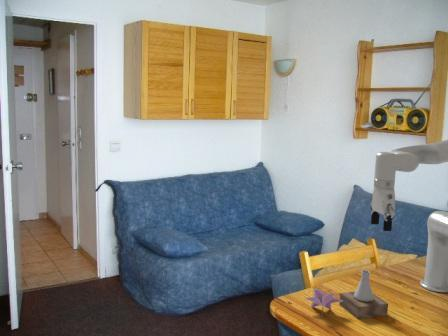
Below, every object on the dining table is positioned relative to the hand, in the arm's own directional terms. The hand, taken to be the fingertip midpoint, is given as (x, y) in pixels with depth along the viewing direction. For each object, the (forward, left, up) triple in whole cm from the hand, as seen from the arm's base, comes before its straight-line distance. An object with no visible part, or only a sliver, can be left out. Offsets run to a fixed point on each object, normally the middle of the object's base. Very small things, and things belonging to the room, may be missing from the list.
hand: (380, 227), depth 182 cm
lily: (+29, +16, -27) cm, 42 cm away
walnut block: (+13, +15, -27) cm, 33 cm away
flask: (+13, +15, -22) cm, 30 cm away
